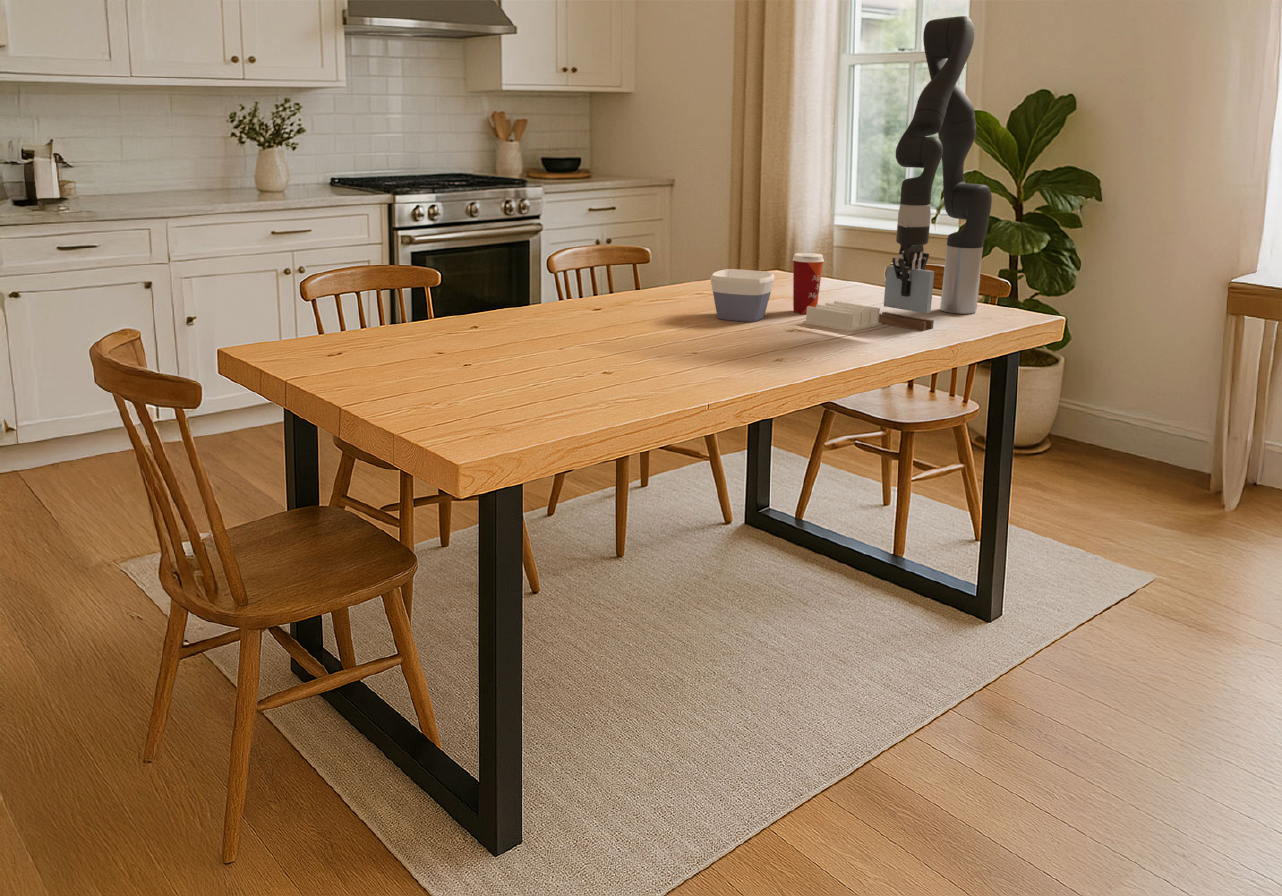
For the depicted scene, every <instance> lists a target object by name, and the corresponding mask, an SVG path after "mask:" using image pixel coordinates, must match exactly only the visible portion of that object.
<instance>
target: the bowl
mask: <svg viewBox="0 0 1282 896" xmlns="http://www.w3.org/2000/svg"><path fill="white" fill-rule="evenodd" d="M709 278H710V285H711V290H712V294H713V300H714V306H715V310H716V317H717V318H718V319H719V320H724V321H730V322H731V321H732V322H746V323H755V322H757V321H760V320H762V319H764V318H765V315H766V310H767V308H768V307H767V306H768V303H769V300H770V296H771V293H772V290H773V289H772V288H773V287H774V282H775V278H776V277H775V275H774V273H773V272H770V271H763V270H762V271H761V270H751V269H750V270H749V269H737V268H736V269H734V268H733V269H731V268H727V269H722V270H718V271H715V272H713V273H712V274H711V276H710V277H709Z"/></svg>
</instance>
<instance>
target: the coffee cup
mask: <svg viewBox="0 0 1282 896" xmlns="http://www.w3.org/2000/svg"><path fill="white" fill-rule="evenodd" d="M791 260H792V261H793V262H792V263H793V265H792V266H793V269H792V271H793V278H792V281H793V285H792V286H793V288H792V290H793V293H792V297H793V299H792V300H793V302H792V303H793V305H792V307H793V313H795V314H800V315H802V314H803V315H806V313H807V306H810V307H816V305H819V298H820V297H819V295H820V287H821V279H822V273H823V272H822V271H823V263H824V262H825V259H824V255H823V254H821V253H813V252H797V253H794V255H793V257H792V259H791Z"/></svg>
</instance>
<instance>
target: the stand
mask: <svg viewBox="0 0 1282 896" xmlns="http://www.w3.org/2000/svg"><path fill="white" fill-rule="evenodd" d="M934 321H935V320H934V319H930V318H929V319H928V318H921V317H917V316H910V315H906V314H905V315H904V314H897V313H892V312H888V311H882V312H881V313H879V323H881V325H886V326H892V327H899V328H903V329H909V330H913V331H921V332H924V331H929V330H933V329H934V323H935V322H934Z"/></svg>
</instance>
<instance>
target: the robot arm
mask: <svg viewBox="0 0 1282 896" xmlns="http://www.w3.org/2000/svg"><path fill="white" fill-rule="evenodd" d="M922 35H923V36H922V38H923V48H924V49H923V50H924V54H925V59H926V64H927V68H928V73H929V77H930V81H929V82H928V83H927V84H926V85H925V87H924V88H923V90H922V92H921V93H920V95H919V96H918V99H917V103H916V107H915V110H914V114H913V116H912V119H911V121H910V123H909V125H908V127H907V128H906V129H905V131H904V133H903V134H902V136H901V137H900V139H899V140H898V143H897V145H896V149H895V159H896V162H897V164H898V165H899V166H901V167H903V168H918V169H920V168H921V169H923V171H922V172H921V174H920V175H919V176H915V177H909V178H904V179H903V180H902V182H901V188H900V198H899V208H898V213H897V225H896V226H897V227H896V239H895V241H896V243H897V244H899V245H900V247H899V251H898V256H897V257H893V258H892V259H891V261H892V265H893V266H894V270H895V274H896V278H897V279H900V280H902V286H901V295H902V296H905V297H909V296H910V290H911V279H912V272H913V271H914V269H923V270H926V269H925V268H926V266H927V263H928V260H929V259H930V258H929V257H930V253H928V252H925V251H924V250H925V249H924V246H925V245H927V244H928V243H929V237H930V229H931V228H930V226H931V215H932V214H931V213H932V212H931V201H932V189H933V184H934V181H935V177H936V174H937V171H938V168H939V166H940V163H942V164H941V165H942V189H943V194H942V195H943V206H944V209H945V212H946V214H947V215H948V217H950V218H952V219H958V220H965V224H964V227H963V228H962V229H961V230H959V231H956V232H953V233H950V234H948V236H947V240H946V247H945V249H946V250H945V258H944V260H945V261H944V269H943V279H942V288H941V296H940V297H941V298H940V306H939V307H940V308H939V310H940V311H942V312H945V313H952V314H961V315H962V314H963V315H965V314H968V315H969V314H974V313H976V311H977V309H978V300H979V293H980V292H979V291H980V283H981V269H982V258H983V250H984V243H985V239H986V236H987V233H988V228H989V221H990V217H991V216H990V215H991V209H992V203H993V202H992V201H993V198H992V197H993V196H992V192H991V189H990V187H989V186H988V185H986V184H982V183H981V184H979V183H970V182H969V183H968V182H967V183H966V181H965V175H964V164H965V161H966V158H967V156H968V153H970V150H971V148H972V146H973V144H974V141H975V139H976V136H977V123H976V115H975V109H974V105H973V103H972V101H971V100H970V98H969V97H968V95H967V94H966V92H964V91H963V89H962V88H961V86H959V85H958V83H957V82H958V80H959V78H960V76H961V74H962V72H963V69H964V68H965V65H966V63H967V61H968V58H969V56H970V54H971V52H972V50H973V45H974V41H975V28H974V23H973V21H972V19H971V18H970V17H969V16H966V15H965V16H964V15H962V16H961V15H959V16H951V17H950V16H949V17H943V18H936V19H931V20H929V21H927V22H926V24H925V26H924V28H923V34H922ZM936 134H937V135H938V137H936V136H933V135H936ZM906 267H908V268H906ZM900 272H901V274H900ZM907 272H908V275H907Z"/></svg>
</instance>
